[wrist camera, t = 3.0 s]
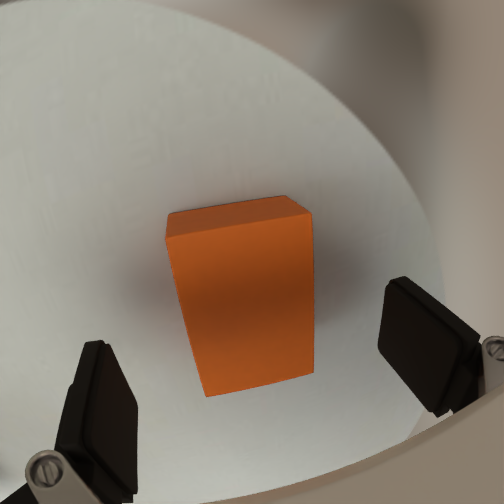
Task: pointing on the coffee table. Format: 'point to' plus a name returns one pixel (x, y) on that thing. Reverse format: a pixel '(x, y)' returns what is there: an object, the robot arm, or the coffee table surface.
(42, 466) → the robot arm
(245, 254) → the block
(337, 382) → the coffee table surface
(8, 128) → the coffee table surface
